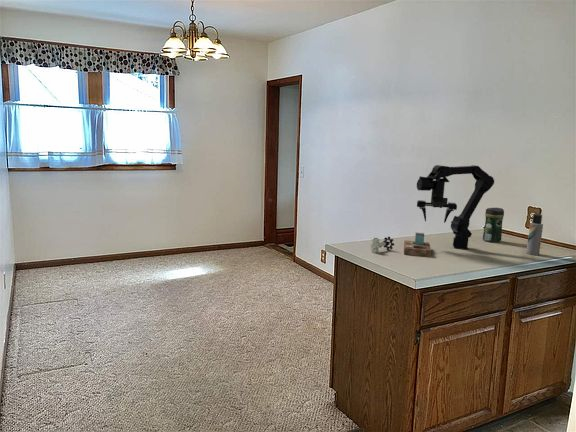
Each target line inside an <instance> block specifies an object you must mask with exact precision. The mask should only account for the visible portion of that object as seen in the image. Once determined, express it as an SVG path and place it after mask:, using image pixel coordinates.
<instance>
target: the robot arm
mask: <svg viewBox="0 0 576 432" xmlns="http://www.w3.org/2000/svg"><path fill="white" fill-rule="evenodd" d="M467 174H468V175H472V177H473V179H474V180H475V182H474V190H473V192H472V194H471V195H470V197H469V199H468V200H467V202H466V204H465V206H464V208H463V210H462V211H461V212H460V214H459V215H454V216H453V219H452V221H450V229H451V231H452V233H453V235H454V237H453V238H452V239H453V240H452V247H454V249H462V250H468V249H469V247H468V245H469V238H471V237H472V235H473V233H472V232H471V231H470V230H469V227H470V219H471V218H472V215H473V213H474V212H475V210H476V208H477V207H478V205H479V203H480V202H481V200H482V198H483V196H484V195H485V194H486V193H487V192H488V191H490V190H491V188H492V187H493V186H494V184H495V179H494V177H493V176H492V175H489V173H488V172H487V171H484V170H483V169H482V168H481V167H480V166H479V165H474V164H471V165H460V166H459V165H458V166H447V165H440V164H436V165H434V166H433V167H432V169H431V171H430V172H429V174H428V175H427V176H419V177H418V180H417V182H416V189H417V191H422V192H423V191H428V192H429V191H431V197H430V202H426V200H421V199H418V200H416V207H417V208H419V209H420V210H421V211H422V214H423V219H424V222H427V209H426V207H432V208H440V209H442V208H446V210H445V215H444V220H443V223H444V224H445V223H446V222H447V219H448V217H449V216H450V214H451V213H452V212H454V211H456V210H457V208H458V205H457V203H455V202H449V201H448V200H449V199H448V197H445V185H446V183H450V180H449V179H448V177H450V176H453V175H455V176H456V175H467Z"/></svg>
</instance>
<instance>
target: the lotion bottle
mask: <svg viewBox="0 0 576 432" xmlns="http://www.w3.org/2000/svg"><path fill="white" fill-rule="evenodd" d="M542 221H543V214H541V213H534V214H533V215H532V222H530V224H529V229H528V230H529V231H528V237H527V246H526V254H527V253H528V254H527V255H530V256H539V255H540V251H541V246H542V245H541V244H542V235H543V228H544V224H542Z"/></svg>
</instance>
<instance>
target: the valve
mask: <svg viewBox="0 0 576 432" xmlns="http://www.w3.org/2000/svg"><path fill="white" fill-rule="evenodd" d="M393 242H394V239H393V238H391V236H386V237H384V240H383V241H380V238H379V237H371V242H370V252H371V253H373V254H375V253H379V250H380V248H385V249H386V251H390V250H393V246H395V243H393Z"/></svg>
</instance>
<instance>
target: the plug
mask: <svg viewBox="0 0 576 432" xmlns="http://www.w3.org/2000/svg"><path fill="white" fill-rule="evenodd" d="M414 241H415V244H417V245H423V244H424V242H425V233H424V232H415V234H414Z"/></svg>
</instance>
